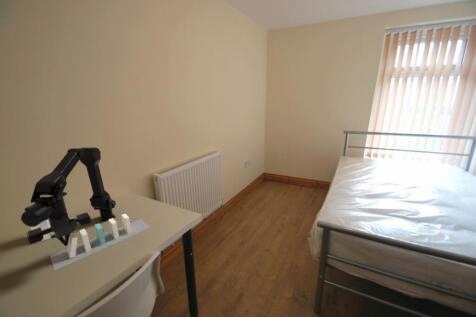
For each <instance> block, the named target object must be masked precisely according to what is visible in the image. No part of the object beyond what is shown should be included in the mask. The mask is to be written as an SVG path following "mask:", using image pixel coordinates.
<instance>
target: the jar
mask: <svg viewBox="0 0 476 317" xmlns="http://www.w3.org/2000/svg"><path fill="white" fill-rule="evenodd" d="M40 227H41V230H44V229H47V228H50V223H49V220H48V218H47V219H46V220H44V221H43V222H41V223H40V224H39V225H37V226H35V227H30V229H31V230H34V229H37V228H40ZM31 230H30V231H31ZM43 237H44V238H43V239H42V241H39V242H40V243H41V242H44V241H47V240H50V239H52V238H51V237H50V235H49V234H46V235H43ZM39 242H38V243H39Z"/></svg>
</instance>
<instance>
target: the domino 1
mask: <svg viewBox="0 0 476 317" xmlns="http://www.w3.org/2000/svg"><path fill="white" fill-rule="evenodd" d="M77 245H78V237H77V234H76V232H72V233H71V234H70V236H69V241H68V245H67V249H68V250H67V253H68V255H69V257H70V258H72V257H75V256H76V248H77Z"/></svg>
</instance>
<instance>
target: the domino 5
mask: <svg viewBox="0 0 476 317" xmlns="http://www.w3.org/2000/svg"><path fill="white" fill-rule="evenodd" d="M130 220H131V219H130V217H129V216H128V214H126V213H122V214H121V221H122V226H123V228H124V230H125V231H126V232H127V234H128V233H131V232H132V231H131V225H130V223H131V221H130Z"/></svg>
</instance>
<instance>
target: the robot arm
mask: <svg viewBox="0 0 476 317" xmlns="http://www.w3.org/2000/svg"><path fill="white" fill-rule="evenodd" d="M101 152H102V151H101V150H100V148H97V147H96V146H95V147H90V146H89V147H78V148H77V147H75V148H73V147H72V148H69V149H67V152H66V154H65V155H64V156H63V158H62V159H61V160H60V161H59V162H58V164H57V165H56V167H55V168H54V169H53V170H52V171H51V172H50V173H47V174H46V175H43V177H41V178H40V179H38V181H36V183H35V184H34V189H33V192H32V195H31V198H30V200H29V201H30V203H31V204H32V205H28V206H27V207H24V212H23V213H22V214H21V217H20V220H21V222H22V223H23V224H24V225H25V226H28V227H30V228H31V227H35V226H37V225H39V224H40V223H41V222H43V221H44V220H46V219H47V218H48V220H49V223H50V228H47V229H44V230H41V227H40V228H37V229H34V230H28V231H27V232H26V237H27V238H26V239H27V242H28V244H29V245H33V244H36V243H39V241H40V242H43V241H42V239H43V238H44V237H43V235H46V234H49V235H50V237H51V238H50V239H57V240H58V241H60V243H62V244H63V246H65V247H66V246H68V242H69V236H70V234H71V233H73V232H75V230H76V228H78V224H79V225H80V226H85V225H89V224H91V223H92V222H93V221H92V219H91V216H90V214H89V213H88V212H83V213H80V214H77V215H76V216H75V218H74V217H73V218H69V215H68V210H67V206H66V204H65V203H66V202H65V199H64V197H65V196H66V195H68V192H65V189H66V187H67V184H68V183H67V178H68V177H69V175H70V174H71V173H72V171H73V170H74V168H75V167H76V165H77V164H78V162H80V163H82V164H83V165H84V166H85V168H86V172H87V174H88V179H89V183H90V186H91V191H92V194H91V197H90V198H89V202H90V206H91V207H92V209H93V210H94V211H96V210H97V211H99V215H100V216H98V219H99V221H100V222H101V223H105V222H109V219H112V218H113V219H116V218H117V217H116V215H115V214H114V212H113V209H115V208H116V200H114V199H112V198H111V195H110V193H108V192H107V190H105V186H104V182H103V177H102V173H101V170H100V164H99V163H100V161H101V160H102V156H101V154H102V153H101Z"/></svg>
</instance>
